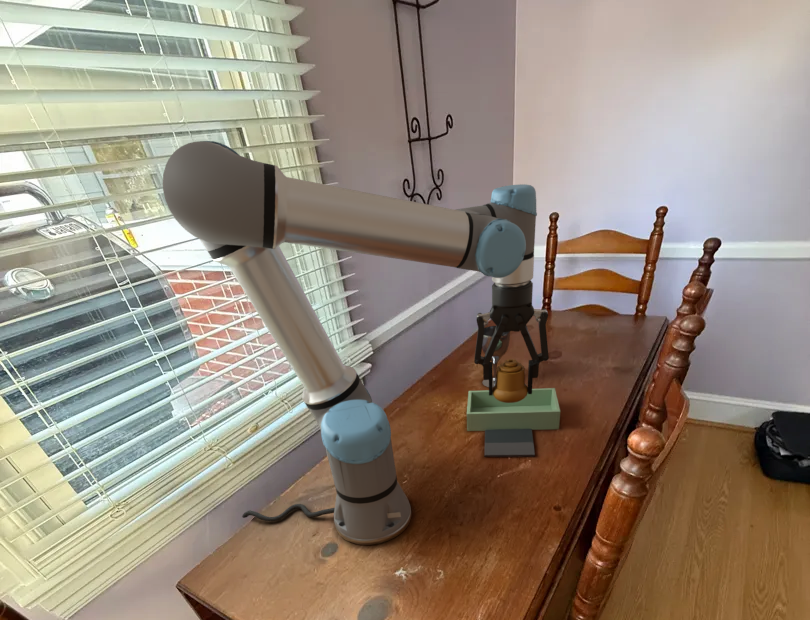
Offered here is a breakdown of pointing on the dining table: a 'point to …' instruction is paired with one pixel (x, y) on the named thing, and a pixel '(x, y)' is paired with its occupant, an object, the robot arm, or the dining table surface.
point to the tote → (513, 411)
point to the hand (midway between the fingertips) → (510, 391)
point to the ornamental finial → (510, 382)
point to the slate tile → (509, 443)
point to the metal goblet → (499, 350)
